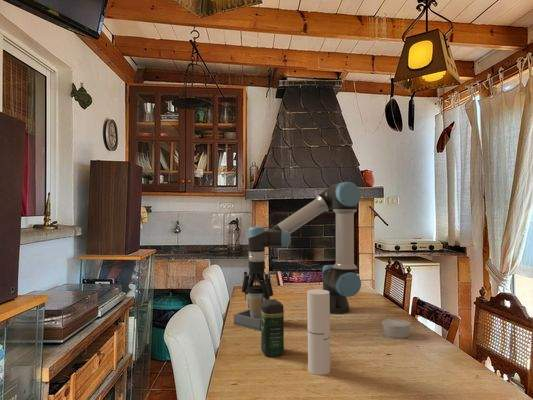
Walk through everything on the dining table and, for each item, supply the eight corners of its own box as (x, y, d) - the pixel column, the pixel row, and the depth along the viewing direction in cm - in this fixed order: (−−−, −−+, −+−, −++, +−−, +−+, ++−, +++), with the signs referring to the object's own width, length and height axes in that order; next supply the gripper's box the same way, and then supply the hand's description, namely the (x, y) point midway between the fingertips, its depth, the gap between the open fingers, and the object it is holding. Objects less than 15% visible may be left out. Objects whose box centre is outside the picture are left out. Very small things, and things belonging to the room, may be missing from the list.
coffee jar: (286, 356, 129) (286, 303, 129) (264, 358, 127) (264, 304, 128) (280, 346, 138) (279, 297, 139) (259, 348, 137) (259, 298, 137)
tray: (280, 322, 168) (280, 312, 168) (259, 330, 156) (259, 320, 156) (254, 316, 177) (254, 307, 177) (233, 324, 165) (233, 314, 166)
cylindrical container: (306, 365, 121) (305, 289, 121) (327, 364, 121) (326, 289, 122) (310, 375, 114) (309, 294, 114) (333, 374, 114) (332, 294, 115)
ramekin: (410, 332, 153) (410, 319, 154) (412, 341, 143) (411, 327, 143) (382, 329, 157) (382, 317, 157) (382, 338, 146) (381, 324, 147)
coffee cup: (265, 323, 161) (265, 289, 162) (244, 322, 163) (244, 288, 164) (269, 317, 170) (269, 285, 171) (249, 316, 172) (249, 284, 173)
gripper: (233, 259, 171) (233, 307, 171) (271, 263, 158) (271, 315, 157) (244, 257, 177) (244, 304, 177) (281, 261, 164) (281, 311, 163)
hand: (257, 309), depth 167 cm, fingers closed on coffee cup, 9 cm apart
